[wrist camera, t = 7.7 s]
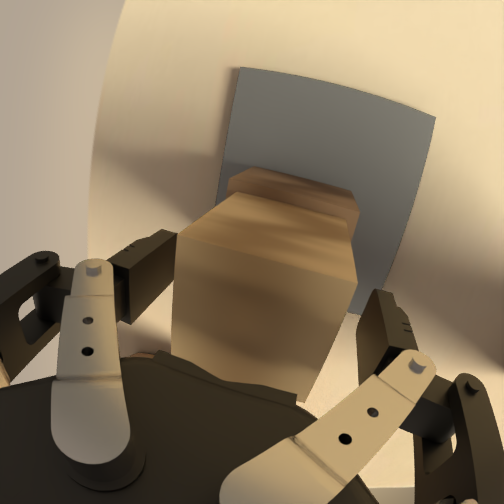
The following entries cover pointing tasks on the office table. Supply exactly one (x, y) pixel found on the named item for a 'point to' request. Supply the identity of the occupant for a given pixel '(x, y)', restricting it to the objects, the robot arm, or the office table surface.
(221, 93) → the office table surface
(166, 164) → the office table surface
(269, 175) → the walnut block
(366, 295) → the plate
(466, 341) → the office table surface
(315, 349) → the oak block
